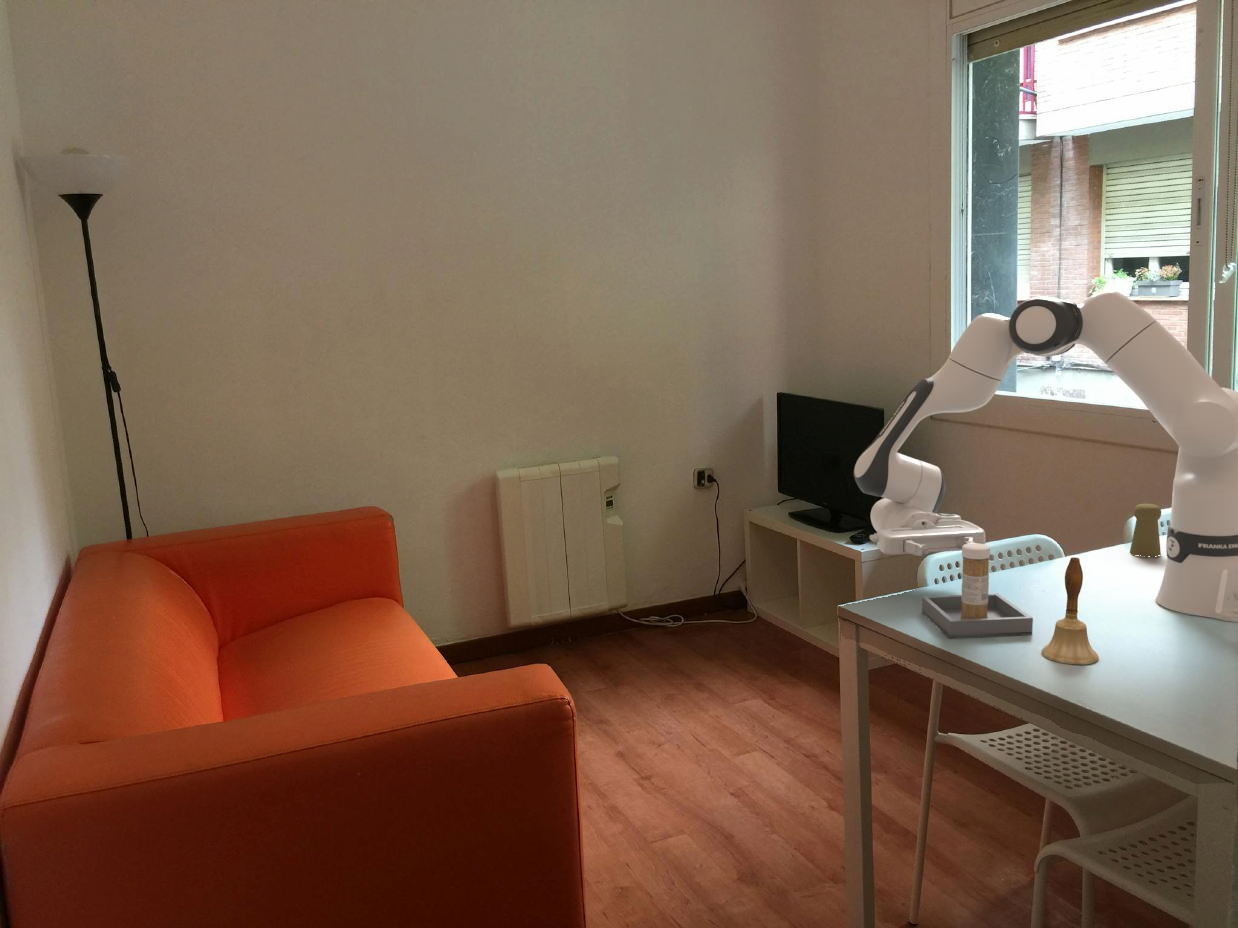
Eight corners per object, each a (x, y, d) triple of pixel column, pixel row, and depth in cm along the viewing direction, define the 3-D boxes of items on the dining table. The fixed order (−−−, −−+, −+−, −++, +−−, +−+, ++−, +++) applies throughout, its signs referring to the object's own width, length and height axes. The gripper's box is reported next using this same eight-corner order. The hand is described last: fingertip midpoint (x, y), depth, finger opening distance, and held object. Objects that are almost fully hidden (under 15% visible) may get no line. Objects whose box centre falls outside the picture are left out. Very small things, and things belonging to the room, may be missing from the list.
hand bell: (1045, 643, 161) (1048, 549, 158) (1101, 651, 157) (1105, 554, 154) (1037, 660, 154) (1041, 562, 151) (1096, 668, 150) (1101, 568, 147)
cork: (1166, 557, 209) (1169, 506, 207) (1138, 558, 209) (1140, 507, 207) (1152, 550, 215) (1154, 501, 213) (1124, 550, 215) (1126, 501, 213)
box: (997, 609, 179) (998, 593, 178) (1032, 634, 165) (1032, 617, 164) (921, 612, 178) (922, 596, 178) (950, 638, 164) (950, 621, 164)
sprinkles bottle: (974, 614, 175) (976, 540, 172) (993, 621, 170) (996, 546, 168) (954, 618, 173) (956, 544, 171) (973, 625, 169) (975, 550, 166)
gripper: (866, 519, 192) (894, 536, 178) (965, 513, 194) (1000, 529, 181) (865, 550, 193) (894, 569, 180) (964, 544, 195) (999, 562, 182)
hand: (948, 549), depth 180 cm, fingers open, 8 cm apart
